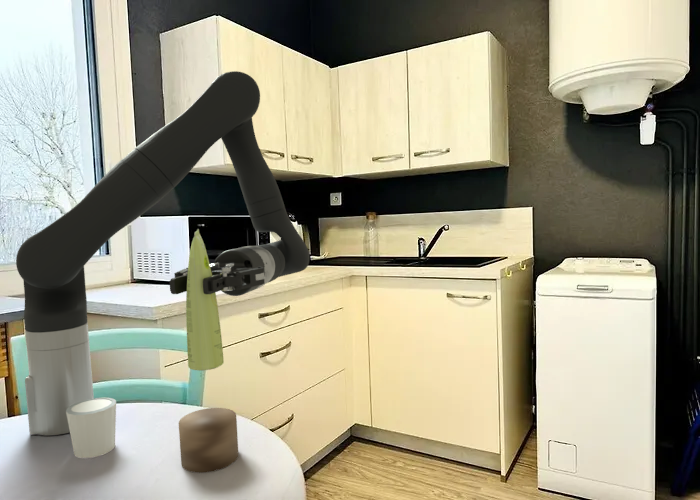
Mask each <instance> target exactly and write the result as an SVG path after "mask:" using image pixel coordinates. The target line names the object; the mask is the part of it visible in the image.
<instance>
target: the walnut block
mask: <svg viewBox="0 0 700 500" xmlns="http://www.w3.org/2000/svg"><path fill="white" fill-rule="evenodd" d="M178 436H179V437H178V438H179V449H180V451H179V452H180V464H181V467H182V468H183V469H184V470H185V471H186V472H187V471H188V472H191V473H197V474H198V473H199V474H200V473H201V474H204V473H212V472H216V471H219V470H222V469H226V468H227V467H228V468H229V466H231V465H233V464H234V463H235V462H236V461H237V460H238V458H239V439H238V438H239V437H238V421H237V413H236V412H235V411H234V410H232V409H231V408H227V407H211V408H210V407H209V408H203V409H199V410H195V411H192V412H189V413H188V414H186V415H184V416H182V417H181V418H180V419H179V420H178Z"/></svg>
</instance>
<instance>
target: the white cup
mask: <svg viewBox="0 0 700 500" xmlns="http://www.w3.org/2000/svg"><path fill="white" fill-rule="evenodd" d="M66 414H67V419H68V424H69V430H70V432H69V435H70V438H71V439H70V440H71V445H72V451H73V455H74V456H75V457H76V458H78V459H92V458H97V457H100V456H103V455H106V454H108V453H110V452H111V451H113V450H114V449H115V447H116V429H117V428H116V425H117V424H116V422H117V421H116V419H117V418H116V417H117V400H116V399H114V398H112V397H96V398H95V397H94V399H88V400H84V401H81V402H78V403H75V404H73V405H71V406H70V407H68V408H67V410H66Z"/></svg>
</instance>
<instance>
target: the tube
mask: <svg viewBox="0 0 700 500" xmlns="http://www.w3.org/2000/svg"><path fill="white" fill-rule="evenodd" d="M210 264H211V263H210V260H209V256H208V253H207V249H206V244H205V243H204V240H203V238H202V236H201V233H200V229H199V228H197V229H196V231H194V235H193V238H192V241H191V246H190V251H189V256H188V265H187V268H188V276H187V291H186V303H185V304H186V306H185V308H186V310H185V311H186V312H185V313H186V314H185V317H186V318H185V319H186V320H185V321H186V344H187V345H186V346H187V347H186V348H187V351H186V352H187V366H188V368H189V369H190V370H193V371H199V372H200V371H210V370H215V369H217V368H219V367H221V366H222V365H223V364H224V351H223V340H222V331H221V323H220V315H219V307H218V300H217V292H215V293H212V294H204V292H203V279H204V278H207V277H210V276H212V272H211V268H210Z"/></svg>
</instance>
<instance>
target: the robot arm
mask: <svg viewBox="0 0 700 500" xmlns="http://www.w3.org/2000/svg"><path fill="white" fill-rule="evenodd" d="M260 103H261V92H260V88H259V85H258V83H257V81H256V80H255V79H254V78H253V77H252V76H251V75H249V74H247V73H245V72H241V71H238V70H234V71H227V72H224V73H221V74H219V75H218V76H216V78H214V80H213V81H212V83H211V84H210V85H209V86H208V87H207V88H206V89H205V91H203V93H202V94H201V95H200V96H199V97H198V98H197V99H196V100H195V101H194V102H193V103H192V104H191V105H190V106H189V107H188V108H186V110H185V111H184V112H183V113H181V114H180V115H179V116H178V117H176V118H174V119H173V120H172V121H170V122H168V123H167V124H166V125H164V126H163V127H161V128H160V129H159V130H157V131H155V132H154V133H153V134H151V136H149V137H147V138H146V139H145V140H144V141H143V142H141V143H140V144H138V145H137V146H136V147H135V148H133V149H132V150H131V151H130V152H128V154H126V155H125V156H124V157H123V158H121V160H119V161H118V162H117V163H116V164H115V165H113V167H112V168H111V169H110V170H109V171H107V173H106V174H105V175H104V176H102V178H101V179H100V180H99V181H98V182H97V183H96V184H95V185H94V186H93V187H92V189H90V191H89V192H88V193H87V194H86V195H85V196H84V198H82V199H81V201H79V202H78V203H77V204H76V205H75V206H74V207H73V208H71V209H70V210H69V211H67V212H65V213H64V214H63V215H61V216H60V217H59V218H57V219H56V220H55V221H53V222H52V223H50V224H49V225H48V226H46V227H44V228H43V229H42V230H40V231H38V232H36V233H35V234H33V235H31V236H29V237H28V238H27V239H26V240H25V241H24V242H23V243H22V244H21V245H20V247H19V248H18V251H17V253H16V259H15V264H16V270H17V272H18V274H19V276H20V278H21V279H22V280H23V292H24V293H23V294H24V310H23V321H24V322H23V323H24V330H25V331H24V334H25V335H24V336H25V342H26V343H25V345H26V355H27V367H28V375H27V376H26V377H25V378H24V385H25V387H24V388H25V397H26V407H27V408H26V409H27V420H28V429H29V436H30V435H32V436H33V435H40V436H57V435H65V434H68V433H69V434H70V430H69V424H68V419H67V414H66V410H67V408H68V407H70V406H71V405H73V404H75V403H78V402H81V401H84V400H88V399H94V398H95V397H94V385H93V373H92V361H91V360H92V359H91V349H90V348H91V347H90V336H89V335H90V334H89V325H88V324H89V323H88V305H87V304H88V303H87V302H88V301H87V291H86V274H85V266H86V264H87V263H88V262H89V261H90V260H91V259H92V257H93V256H94V255H95V254H96V253H97V252H98V251H99V250H100V249H101V248H102V247H103V246H104V245H105V243H107V242H108V241H109V240H110V239H111V238H112V237H113V236H114V235H116V234H117V233H118V232H119V231H121V230H122V229H123V228H125V227H127V226H128V225H129V224H131V223H132V222H134V221H135V220H136V219H138V218H140V217H141V216H142V215H143V214H145V213H146V212H147V211H149V210H150V209H151V208H152V207H154V206H155V205H156V204H158V203H159V202H160V201H161V200H162V199H163V198H165V197H166V196H167V195H168V194H169V193H170V192H171V191H172V190H173V189H174V188H175V187H177V186H178V185H179V184H180V182H181V181H183V179H184V178H185V177H186V176H187V175H188V174H189V173H190V172H191V171H192V170H193V168H194V167H195V166H196V165H197V164H198V163H199V161H200V160H201V159H202V158H203V156H204V155H205V154H206V153H207V151H208V150H210V149H211V147H213V145H215V143H216V142H218V141H219V140H222V143H223V145H224V147H225V149H226V152H227V153H228V156H229V159H230V161H231V164H232V166H233V169H234V172H235V174H236V177H237V180H238V183H239V187H240V190H241V192H242V195H243V196H242V197H243V199H244V203H245V205H246V208H247V211H248V215H249V218H250V219H251V223H252V226H253V228H254V230H255V231H256V232H258V233H274V234H276V235H277V236H278V237H279V238H280V239H279V240H277V241H274V242H270V243H266V244H257V245H247V246H241V247H238V248H232V249H228V250H225V251H222V253H220V254H219V255H218V256H217V257H216V258H215V260H214V262H213V263H209V264H210V268H211V272H212V276H210V277H207V278H204V279H203V292H204V294H212V293H218V292H220V291H221V292H222V293H224V294H226V296H227V295H228V296H231V297H239V296H243V295H245V294H248V293H250V292H253V291H255V290H258V289H260V288H262V287H264V286H265V285H267V284H268V283H271V282H273V281H275V280H276V279H278V278H280V277H283V276H284V277H285V276H288V275H292V274H296V273H300V272H303V271H304V270H306V269H307V268H308V266H309V264H310V252H309V248H308V246H307V245H306V243H305V241H304V239H303V238H302V237H301V235H300V234H299V232H298V231H297V229H296V227H295V226H294V224H293V223H292V221H291V219H290V217H289V215H288V212H287V210H286V206H285V204H284V203H285V202H284V200H283V197H282V194H281V191H280V189H279V186H278V185H279V184H277V181H276V179H275V176H274V174H273V172H272V171H271V168H270V167H269V165H268V163H267V162H266V160H265V158H264V155H263V154H262V152H261V150H260V146H259V143H258V141H257V137H256V133H255V127H254V122H253V117H254V116H255V115H256V113H257V111H258V110H259V106H260ZM173 274H174V277H172V278H171V279H170V280H169V281H168V282H169V291H170V293H171V295H179V294H182V293H187V276H188V267H185V268H183V269H181V270H179V271H177V272H174V273H173Z"/></svg>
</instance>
